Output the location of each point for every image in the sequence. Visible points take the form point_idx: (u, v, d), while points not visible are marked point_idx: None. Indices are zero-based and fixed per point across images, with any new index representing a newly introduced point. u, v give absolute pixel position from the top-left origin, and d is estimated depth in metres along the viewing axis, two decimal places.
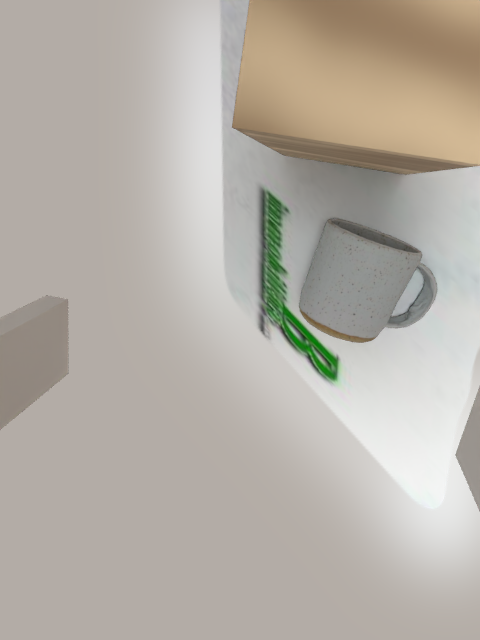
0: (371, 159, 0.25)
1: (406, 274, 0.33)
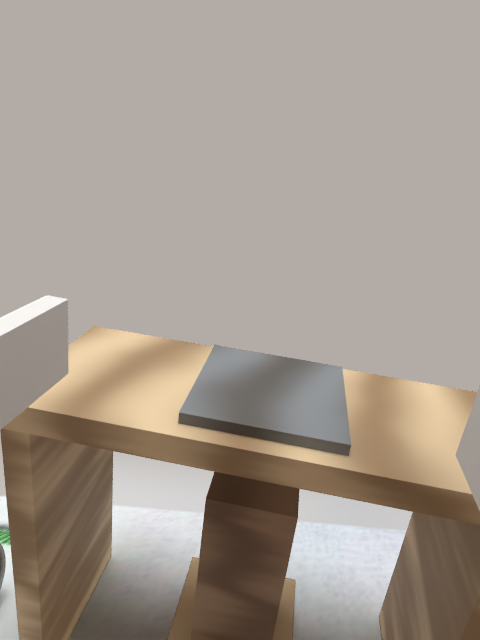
0: None
1: None
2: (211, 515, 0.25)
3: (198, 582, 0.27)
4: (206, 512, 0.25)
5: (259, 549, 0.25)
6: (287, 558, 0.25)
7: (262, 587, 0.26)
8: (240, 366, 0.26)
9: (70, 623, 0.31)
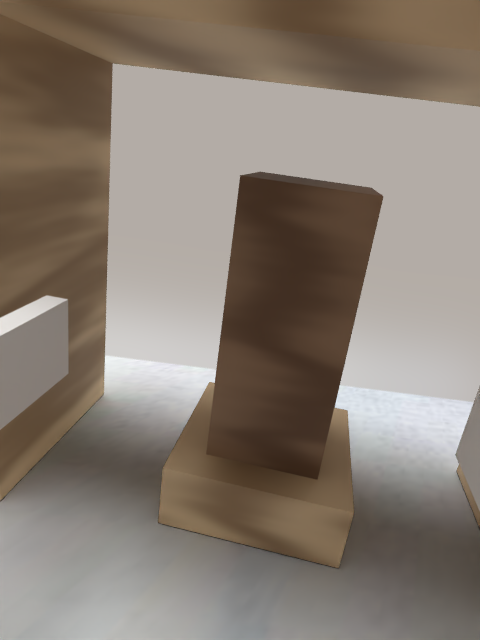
0: None
1: None
2: (247, 209, 0.17)
3: (222, 338, 0.18)
4: (240, 203, 0.17)
5: (318, 266, 0.17)
6: (361, 279, 0.17)
7: (318, 338, 0.18)
8: None
9: (42, 438, 0.23)
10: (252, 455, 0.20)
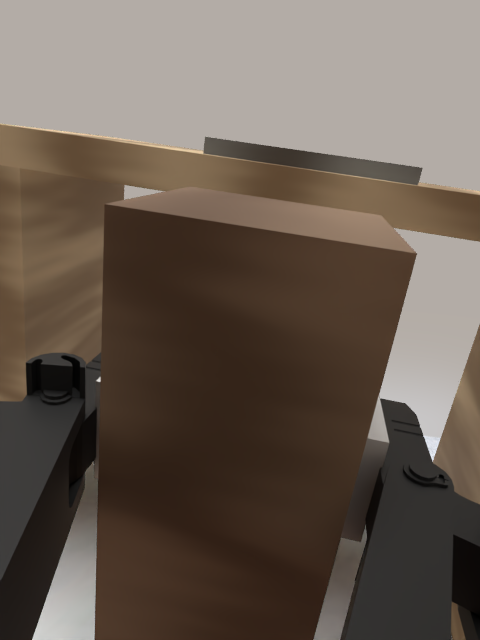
0: None
1: None
2: (124, 273, 0.08)
3: (102, 507, 0.10)
4: (109, 261, 0.08)
5: (277, 391, 0.08)
6: (366, 420, 0.08)
7: (281, 520, 0.09)
8: None
9: None
10: None
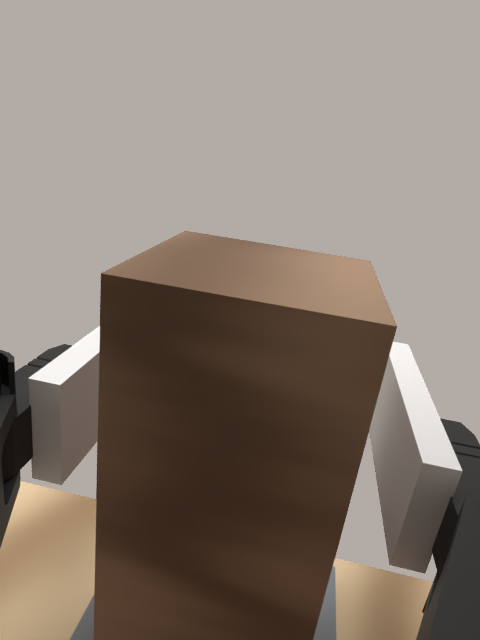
0: None
1: None
2: (120, 337, 0.08)
3: (99, 550, 0.10)
4: (105, 325, 0.08)
5: (266, 447, 0.08)
6: (351, 476, 0.08)
7: (271, 566, 0.09)
8: None
9: None
10: None
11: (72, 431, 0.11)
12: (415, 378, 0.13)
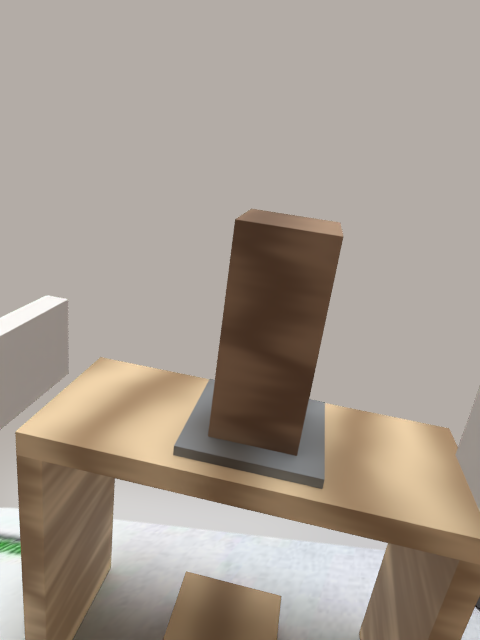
0: None
1: None
2: (240, 244, 0.22)
3: (221, 343, 0.23)
4: (234, 240, 0.22)
5: (295, 288, 0.22)
6: (328, 298, 0.22)
7: (296, 343, 0.23)
8: None
9: (71, 631, 0.34)
10: (245, 436, 0.25)
11: None
12: None
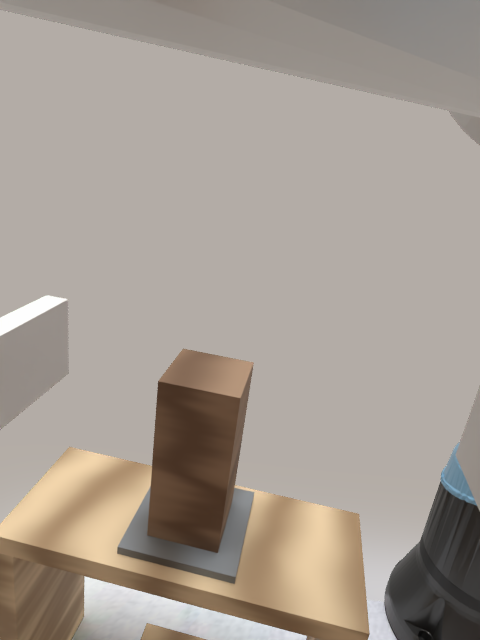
0: None
1: None
2: (163, 398, 0.28)
3: (153, 468, 0.29)
4: (159, 395, 0.27)
5: (207, 432, 0.28)
6: (232, 440, 0.28)
7: (211, 471, 0.29)
8: None
9: None
10: (176, 537, 0.31)
11: None
12: None
